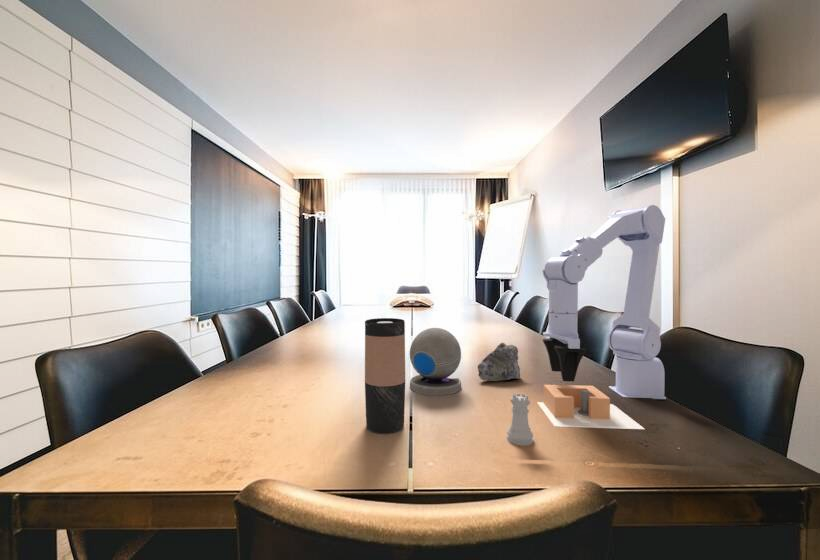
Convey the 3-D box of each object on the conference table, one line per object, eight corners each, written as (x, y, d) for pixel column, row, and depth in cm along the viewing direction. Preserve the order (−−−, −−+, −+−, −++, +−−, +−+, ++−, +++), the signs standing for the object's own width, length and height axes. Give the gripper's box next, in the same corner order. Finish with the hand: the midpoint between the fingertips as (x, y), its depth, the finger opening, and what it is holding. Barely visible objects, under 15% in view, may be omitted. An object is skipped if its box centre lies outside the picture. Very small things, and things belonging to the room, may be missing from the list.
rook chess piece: (535, 449, 62) (535, 401, 61) (507, 447, 63) (507, 399, 62) (532, 437, 66) (532, 392, 66) (505, 435, 67) (506, 391, 67)
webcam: (469, 384, 97) (469, 326, 97) (446, 398, 87) (446, 333, 86) (425, 377, 104) (425, 323, 104) (399, 389, 93) (399, 329, 93)
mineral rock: (479, 386, 96) (479, 347, 96) (470, 374, 107) (470, 339, 107) (528, 385, 97) (529, 346, 97) (515, 373, 108) (515, 338, 108)
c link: (609, 419, 73) (610, 398, 73) (554, 417, 74) (554, 397, 74) (592, 404, 81) (592, 385, 81) (543, 402, 82) (543, 384, 82)
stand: (612, 406, 81) (612, 383, 81) (645, 431, 68) (645, 404, 68) (536, 404, 83) (537, 381, 82) (554, 429, 70) (554, 402, 70)
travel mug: (410, 420, 74) (410, 318, 73) (396, 437, 66) (396, 324, 66) (375, 416, 76) (374, 317, 76) (357, 431, 69) (357, 322, 68)
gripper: (535, 309, 88) (534, 366, 88) (553, 316, 73) (553, 385, 74) (566, 309, 87) (565, 367, 88) (591, 316, 73) (590, 386, 73)
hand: (562, 375), depth 81 cm, fingers open, 7 cm apart
